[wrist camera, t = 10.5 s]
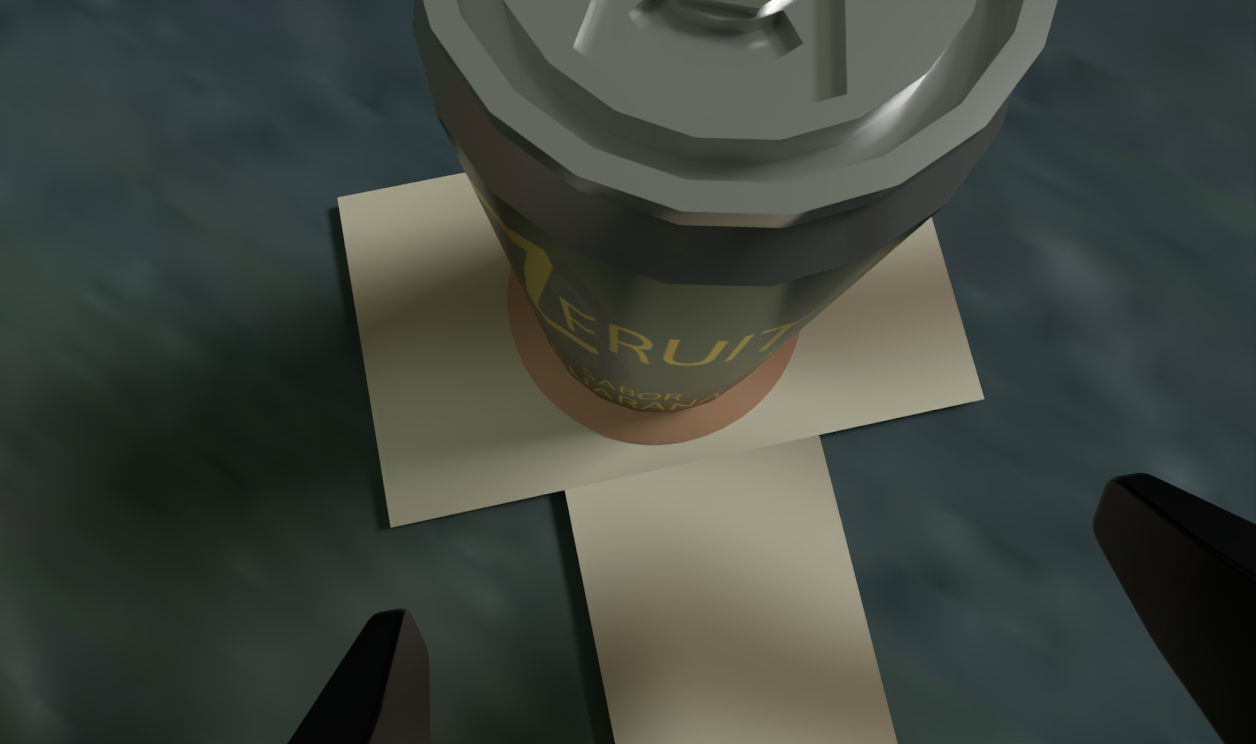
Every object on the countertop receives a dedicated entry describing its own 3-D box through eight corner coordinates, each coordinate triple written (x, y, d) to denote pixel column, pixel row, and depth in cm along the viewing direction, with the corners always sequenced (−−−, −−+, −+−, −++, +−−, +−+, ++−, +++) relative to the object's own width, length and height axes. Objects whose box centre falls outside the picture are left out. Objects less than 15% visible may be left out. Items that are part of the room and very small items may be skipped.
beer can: (566, 176, 18) (460, -451, 6) (785, 216, 18) (1129, -340, 6) (522, 393, 17) (291, 173, 5) (751, 435, 17) (1069, 314, 5)
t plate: (1104, 845, 16) (1120, 856, 15) (473, 1000, 15) (468, 1017, 15) (888, 97, 19) (895, 86, 18) (343, 204, 18) (335, 196, 18)
